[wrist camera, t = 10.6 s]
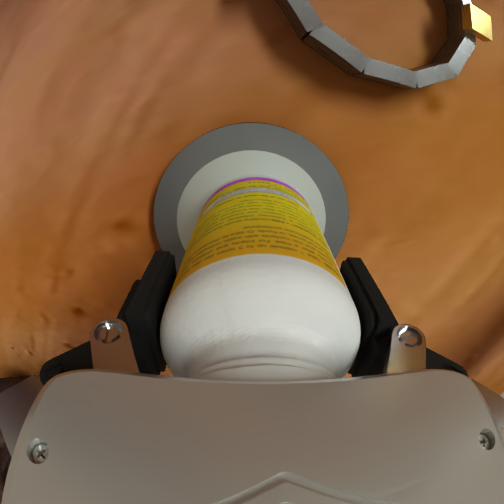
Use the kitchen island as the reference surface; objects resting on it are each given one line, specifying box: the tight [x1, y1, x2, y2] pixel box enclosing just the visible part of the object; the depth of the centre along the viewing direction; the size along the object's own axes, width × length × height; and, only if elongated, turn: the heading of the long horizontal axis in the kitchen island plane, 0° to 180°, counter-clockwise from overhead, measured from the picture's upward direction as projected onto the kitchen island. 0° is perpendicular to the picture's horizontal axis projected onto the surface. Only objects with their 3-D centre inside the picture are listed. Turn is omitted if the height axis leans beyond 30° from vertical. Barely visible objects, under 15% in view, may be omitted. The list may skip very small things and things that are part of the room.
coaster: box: [154, 122, 349, 273], centre depth 18 cm, size 12×12×1 cm
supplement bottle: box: [160, 175, 361, 381], centre depth 11 cm, size 7×7×13 cm
